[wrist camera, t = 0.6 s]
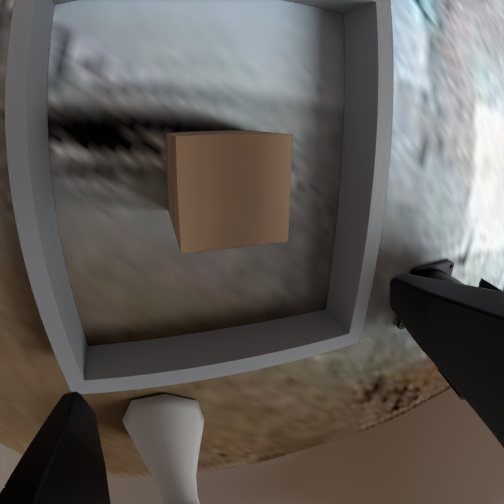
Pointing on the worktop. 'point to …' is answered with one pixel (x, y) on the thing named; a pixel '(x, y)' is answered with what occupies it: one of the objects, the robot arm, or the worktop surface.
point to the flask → (168, 443)
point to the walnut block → (228, 188)
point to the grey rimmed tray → (228, 339)
